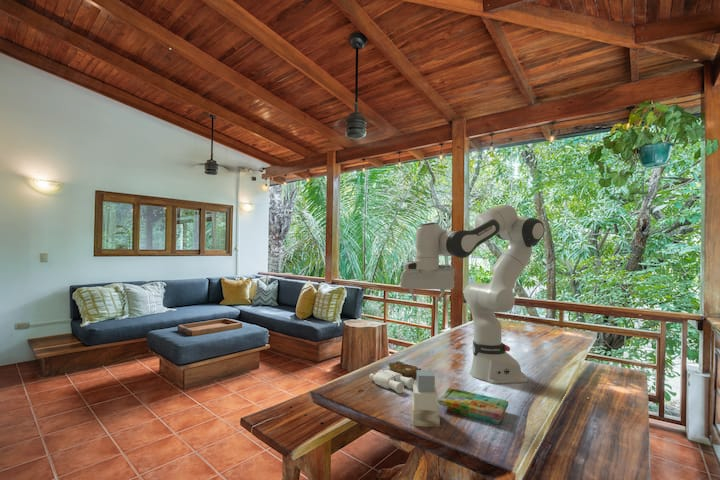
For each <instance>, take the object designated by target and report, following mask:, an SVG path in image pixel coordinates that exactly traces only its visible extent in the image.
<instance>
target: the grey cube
mask: <svg viewBox="0 0 720 480" xmlns="http://www.w3.org/2000/svg"><path fill="white" fill-rule="evenodd" d="M435 382H436V381H435V373H434V372H433V370H432V369H431V370H429V369H421V370H417V377H416V384H417V389H418V392H435V388H436V384H435Z"/></svg>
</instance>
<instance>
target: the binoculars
mask: <svg viewBox="0 0 720 480" xmlns="http://www.w3.org/2000/svg"><path fill="white" fill-rule="evenodd" d="M369 380H372V381H373V382H374V384H375V385H377V386H379V387H382V388H383V389H387V390H390V389H392V390H393V391H395V392H396V393H397V394H401V393H403V391H404V390H405V387H407V388H408V389H413V384H415V380H414V379H413V378H408V377H404V376H403V375H401V374H399V373H396V372H394V371H390V369H386V370H383V369H380V370H378V371H377V372H376V373H375V374H374V373H372V372H371V373H370V374H369Z"/></svg>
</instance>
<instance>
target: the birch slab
mask: <svg viewBox="0 0 720 480" xmlns="http://www.w3.org/2000/svg"><path fill="white" fill-rule="evenodd" d="M438 404H439V403H437V411H429V410H414V404H413V397H412V398H411V406H410V407H411V410H410V411H411V412H410V413H411V418H412V419H411V420H412V426H413V427H427V428H428V427H431V428H432V427H433V428H440V425H441V424H440V423H441V422H440V419H441V417H440V415H441V413H440V409H439V405H438Z"/></svg>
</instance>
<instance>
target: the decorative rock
mask: <svg viewBox="0 0 720 480" xmlns="http://www.w3.org/2000/svg"><path fill="white" fill-rule="evenodd" d="M388 367H389V370H390V371H394V372H396V373H399V374H401V375H402V376H403V377H408V378H413V379H417V370H422V368H419V367H418V366H415V365H412V364H407V363H404V362H402V361H400V360H397V361H395V362H390V363H388Z"/></svg>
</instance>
